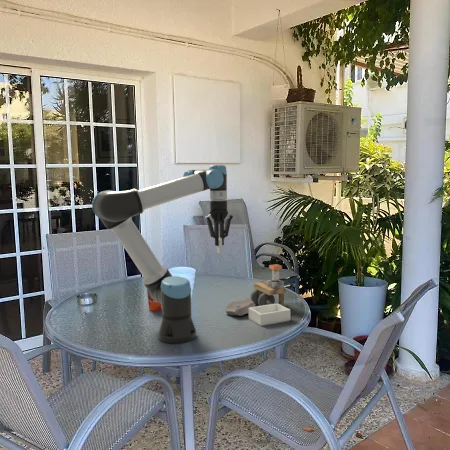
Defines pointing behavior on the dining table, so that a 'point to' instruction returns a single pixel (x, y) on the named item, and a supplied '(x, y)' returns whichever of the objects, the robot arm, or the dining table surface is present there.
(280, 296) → the trolley
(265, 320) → the tray
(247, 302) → the stone
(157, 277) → the robot arm
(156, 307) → the coffee cup
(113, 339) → the dining table surface
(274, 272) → the pin
